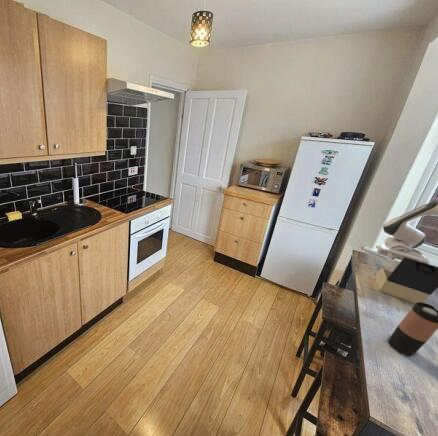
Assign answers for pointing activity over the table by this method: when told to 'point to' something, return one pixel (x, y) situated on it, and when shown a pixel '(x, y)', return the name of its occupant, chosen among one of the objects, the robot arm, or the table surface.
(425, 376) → the table surface
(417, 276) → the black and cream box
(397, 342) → the travel mug
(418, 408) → the table surface
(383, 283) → the beige shallow box
